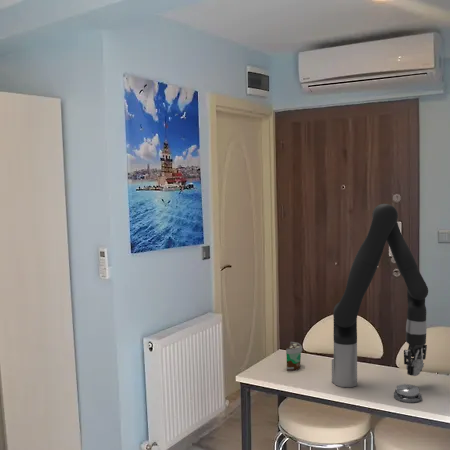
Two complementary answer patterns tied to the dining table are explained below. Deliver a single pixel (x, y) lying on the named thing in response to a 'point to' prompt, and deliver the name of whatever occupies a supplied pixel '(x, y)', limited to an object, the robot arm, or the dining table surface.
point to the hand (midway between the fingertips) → (414, 372)
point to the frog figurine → (417, 367)
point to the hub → (407, 393)
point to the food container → (293, 356)
